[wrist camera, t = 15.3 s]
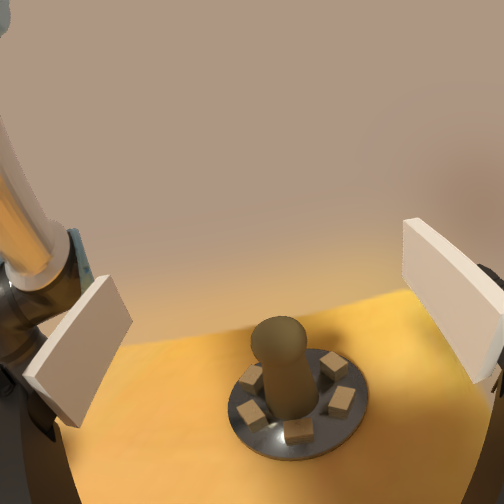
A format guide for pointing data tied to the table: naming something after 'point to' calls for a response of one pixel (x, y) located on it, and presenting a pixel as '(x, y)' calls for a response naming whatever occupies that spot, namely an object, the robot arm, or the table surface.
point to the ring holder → (309, 427)
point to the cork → (285, 367)
